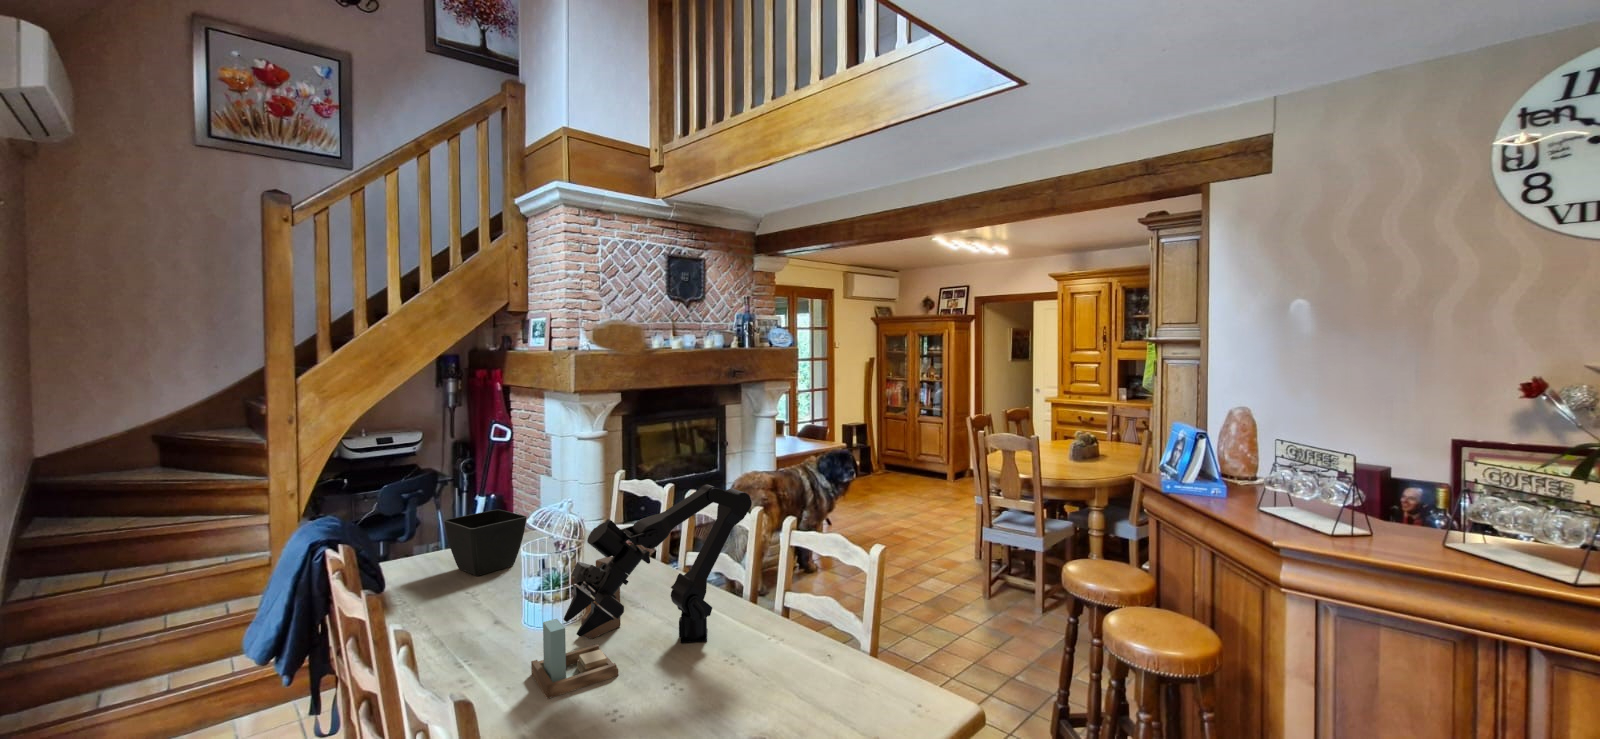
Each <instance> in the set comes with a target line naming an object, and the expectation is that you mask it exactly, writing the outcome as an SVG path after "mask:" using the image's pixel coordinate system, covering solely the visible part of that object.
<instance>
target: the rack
mask: <svg viewBox="0 0 1600 739" xmlns="http://www.w3.org/2000/svg"><path fill="white" fill-rule="evenodd" d="M599 649H601V648H600V645H599V644H598V643H596V644H592V645H589V646H587V647H586V646H585V647H583V648H579V649H576V650H575V649H574V650H573V651H569V652H566V667H569V666H572V665H577V660H579V655H581V654H585V653H588V652H592V651H596V650H599ZM604 655H605V656H606V657H607V665H606V666H603V667H600V668H597V669H594V670H590V671H587V672H584V673H581V672H580V673H578V674H575V675H572V676H568V677H566V678H565V679H562V680H559V681H556V682H552V681H551V679H550V678H549V676H548V675H547V674H546V672H545V671H544V659H542V660H538V659H535V660H534V659H533V660H531V661H530V663H531V664H530V665H531V666H530V668H531V669H530V670H531V676H532V677H534V678H533V679H534V680H536V681H535V682H536V684H537V685H538V687H539V689H540V688H541V689H540V690H541V691H543V692H542V693H543V695H544V694H545V695H544V696H545V698H546V697H547V698H546V700H549V699H551V698H550V697H552V698H555V697H558V696H561V695H564V694H567V693H570V692H572V691H575V690H578V689H582V688H584V687H588V686H590V685H593V684H596V683H600V682H603V681H606V680H609V679H612V678H615V677H618V676H619V667H617V664H616V663H615V662H613V661H612V660H611V659H610V658H609V657H608V656H607V655H606V653H604ZM548 698H549V699H548Z"/></svg>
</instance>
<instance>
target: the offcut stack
mask: <svg viewBox="0 0 1600 739" xmlns="http://www.w3.org/2000/svg"><path fill="white" fill-rule="evenodd" d="M604 654H605V652H603V650H602V649H601V648H600V649H599V650H596V651H592V652H588V653H585V654H581V655H579V660H577V663H576V669H577V670H578V671H579V672H580V674H581V673H584V672H587V671H590V670H594V669H597V668H600V667H603V666H606V665H607V657H608V656H607V655H606V654H605V655H606V656H607V657H606V656H605V655H604Z"/></svg>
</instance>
